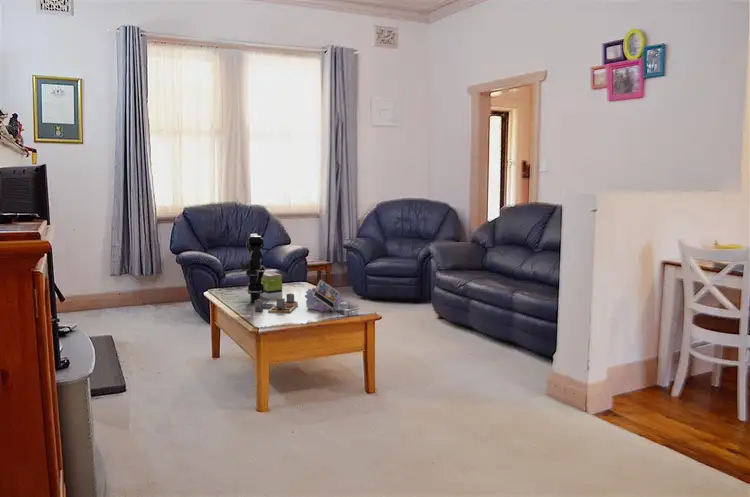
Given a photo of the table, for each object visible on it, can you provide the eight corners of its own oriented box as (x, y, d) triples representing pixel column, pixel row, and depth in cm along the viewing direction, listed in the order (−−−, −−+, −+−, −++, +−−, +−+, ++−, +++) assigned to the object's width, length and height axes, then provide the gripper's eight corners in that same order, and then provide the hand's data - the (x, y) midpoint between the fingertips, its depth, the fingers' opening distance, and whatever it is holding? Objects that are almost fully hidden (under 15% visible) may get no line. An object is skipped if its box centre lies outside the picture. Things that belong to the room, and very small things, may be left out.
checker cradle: (263, 306, 370) (263, 302, 370) (280, 306, 369) (280, 303, 369) (257, 310, 358) (257, 306, 358) (275, 311, 357) (275, 307, 357)
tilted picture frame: (323, 295, 378) (312, 272, 369) (353, 298, 366) (342, 274, 357) (305, 318, 364) (293, 295, 355) (335, 322, 352) (323, 297, 344)
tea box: (257, 295, 403) (256, 272, 401) (271, 294, 409) (271, 271, 407) (268, 299, 391) (267, 275, 389) (282, 297, 397) (282, 274, 395)
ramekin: (285, 305, 372) (285, 300, 371) (298, 306, 371) (298, 301, 371) (282, 308, 364) (281, 303, 363) (295, 309, 363) (295, 303, 363)
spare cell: (256, 311, 355) (256, 298, 354) (264, 312, 355) (263, 298, 354) (254, 313, 351) (253, 300, 350) (261, 313, 350) (261, 300, 350)
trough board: (274, 308, 363) (274, 305, 363) (295, 309, 362) (295, 305, 362) (268, 314, 349) (268, 310, 349) (290, 314, 348) (290, 311, 348)
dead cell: (287, 305, 370) (287, 292, 369) (295, 305, 369) (294, 292, 368) (285, 307, 365) (285, 294, 364) (293, 307, 365) (293, 294, 364)
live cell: (277, 310, 355) (277, 297, 354) (285, 310, 354) (285, 297, 354) (275, 312, 350) (275, 298, 350) (283, 312, 350) (283, 298, 349)
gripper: (246, 255, 373) (247, 282, 375) (236, 259, 354) (237, 287, 356) (265, 256, 372) (265, 282, 374) (256, 260, 353) (257, 288, 355)
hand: (256, 285), depth 365 cm, fingers open, 9 cm apart
